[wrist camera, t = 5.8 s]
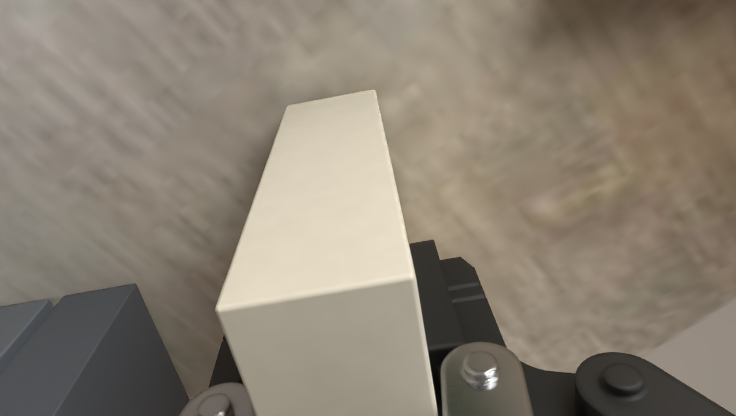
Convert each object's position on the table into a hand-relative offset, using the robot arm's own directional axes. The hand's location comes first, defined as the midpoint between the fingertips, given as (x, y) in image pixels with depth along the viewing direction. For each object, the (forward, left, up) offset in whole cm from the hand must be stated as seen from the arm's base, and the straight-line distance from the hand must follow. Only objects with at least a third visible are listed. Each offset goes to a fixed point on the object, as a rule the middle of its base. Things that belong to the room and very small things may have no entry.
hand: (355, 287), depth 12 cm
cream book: (0, 0, -4) cm, 4 cm away
